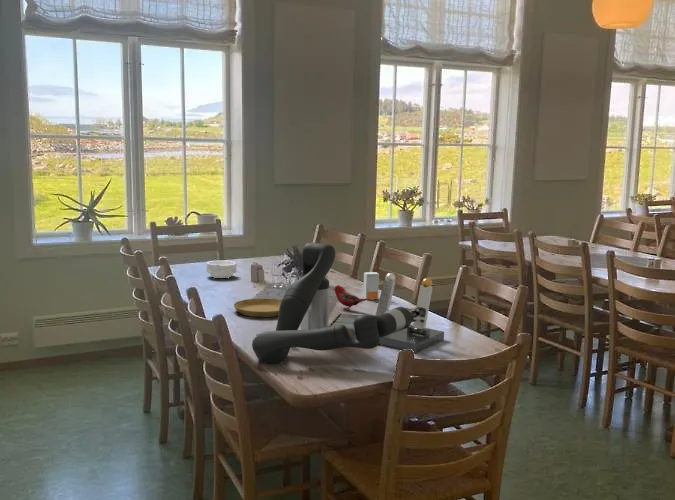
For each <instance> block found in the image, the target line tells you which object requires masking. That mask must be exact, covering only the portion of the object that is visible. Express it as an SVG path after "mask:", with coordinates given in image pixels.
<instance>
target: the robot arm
mask: <svg viewBox="0 0 675 500" xmlns="http://www.w3.org/2000/svg"><path fill="white" fill-rule="evenodd" d="M335 258H336V250H335V248H334V246H333V245H331V244H328V243H320V242H319V243H318V242H307V243H306V244H304V246H303V248H302V253H301V271H302V273H301V274H302V277H299V279H296V281H295V282H293V283H292V284H291V285H290V286H289V287H288V288H287V289H286V291H285V294H284V296H283V297H282V299H281V300H282V301H281V304H280V308H279V314H278V316H277V322H276V327H275V328H276V329H275V330H269V331H268V330H267V331H263V332H260V333H259V334H257V335H256V336H255V337H254V339H253V341H252V343H251V348H252V350H253V353H254V354H255V356H256V358H257V360H258V361H259V362H260V363H263V364H269V365H272V364H273V365H274V364H279V363H280V364H281V363H283V362H285V361H286V360H287V357H288V356H289V353H290V349H291V348H299V349H300V348H302V349H307V350H312V351H323V352H324V351H329V350H336V349H341V348H342V349H343V348H353V349H354V348H355V349H365V350H371V349H375V348H377V346H379V343H380V338H379V337H385V336H387V335H389V334H392V333H396V332H399V331H401V330H403V329H406V328H408V327H409V326H410V325H412V323H414V322H415V321H417V320H419V321H421V322H424V320H425V314H424V313H423V308H422V307H418V308H416V307H415V308H413V307H411V308H410V307H404V306H397V307H394V308H392V309H389V311H386V312H385V313H383V314H380V315H376V314H375V315H374V314H361V315H358V316H356V318H355V319H354V321H353V330H354V329H355V334H356V339H355V338H352V336H351V334H350V333H349V330H348V328H347V326H346V325H345V324H338V325H337V324H336V325H331V326H329V322H330V321H329V313H330V311H329V309H330V280H329V279H328V278H327V275H328V273H329V271H330V270H331V268H332V266H333V264H334V262H335ZM299 328H300V330H299Z"/></svg>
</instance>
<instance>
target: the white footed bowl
mask: <svg viewBox="0 0 675 500" xmlns="http://www.w3.org/2000/svg"><path fill="white" fill-rule="evenodd" d="M206 273H208V274H209V275H210V277H211V278H212V277H214V278H213V279H215V278H228V277H231V276H232V277H233V275H234V274H235V273H237V262H235V261H233V260H232V261H231V260H209V261H207V262H206ZM232 277H231V278H232ZM228 279H229V278H228Z"/></svg>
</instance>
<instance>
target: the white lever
mask: <svg viewBox="0 0 675 500" xmlns="http://www.w3.org/2000/svg"><path fill="white" fill-rule="evenodd" d="M395 286H396V275H395V274H394V273H392V272H389V273H387V274H386V275H385V279H383V282H382V286H381V292H380V295H379V298H378V304H377V308H376V312H375V316H376V315H380V314H383V313H385V312H386V311H389V310H390V307H391V304H392V298H393V294H394V291H395Z"/></svg>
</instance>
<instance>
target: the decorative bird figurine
mask: <svg viewBox="0 0 675 500" xmlns="http://www.w3.org/2000/svg"><path fill="white" fill-rule="evenodd" d="M332 290H333V291H334V292H335V296H336V299H337V300H338V303H340V304H341V305H343V306H344V307H342V309H343V310H347V311H350V310H351V308H352V307H353V306H357V305H358V304H360V303H361V302H364V301H368V300H369V299H364V298H359V297H358V296H356V295H355V294H353V293H350V292H348V291H347V290H345V288H344V287H343V286H341V285H339V284H338V285H337V284H336V286H335V287H334V288H333V289H332ZM369 301H370V300H369Z"/></svg>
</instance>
